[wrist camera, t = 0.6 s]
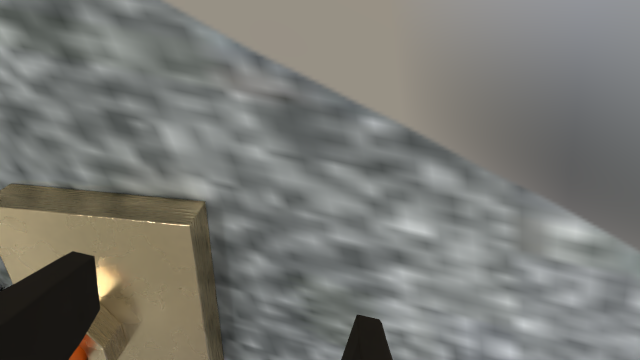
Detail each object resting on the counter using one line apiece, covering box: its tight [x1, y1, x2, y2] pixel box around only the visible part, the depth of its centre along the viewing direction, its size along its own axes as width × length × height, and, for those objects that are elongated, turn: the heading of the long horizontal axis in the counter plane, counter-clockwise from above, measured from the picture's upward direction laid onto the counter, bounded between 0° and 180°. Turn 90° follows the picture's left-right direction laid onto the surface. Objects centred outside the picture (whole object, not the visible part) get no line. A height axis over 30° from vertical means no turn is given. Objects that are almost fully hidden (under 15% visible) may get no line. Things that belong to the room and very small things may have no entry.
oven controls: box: [0, 184, 224, 360], centre depth 23 cm, size 13×12×4 cm
